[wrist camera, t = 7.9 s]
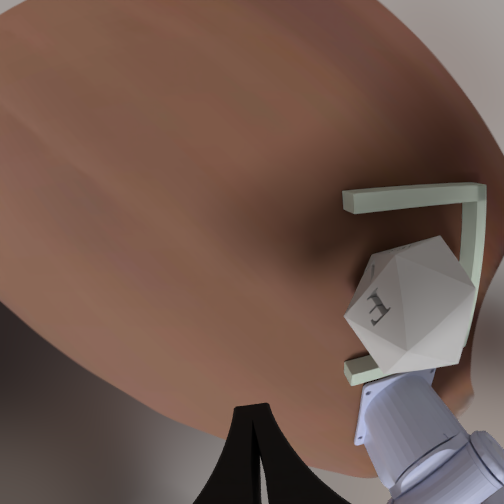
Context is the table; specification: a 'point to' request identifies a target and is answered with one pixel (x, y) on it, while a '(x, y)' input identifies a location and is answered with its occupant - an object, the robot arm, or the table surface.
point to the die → (413, 307)
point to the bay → (419, 197)
